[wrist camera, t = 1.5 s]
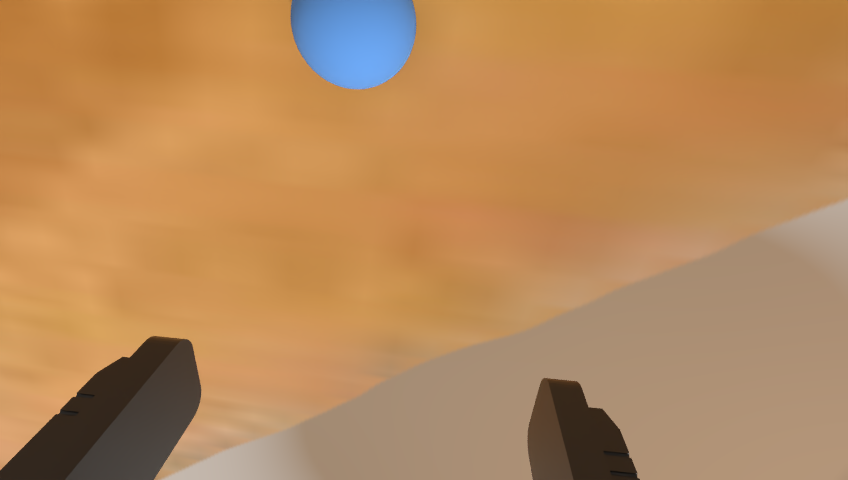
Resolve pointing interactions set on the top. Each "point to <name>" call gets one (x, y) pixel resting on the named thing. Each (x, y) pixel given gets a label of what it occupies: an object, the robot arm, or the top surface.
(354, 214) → the top surface
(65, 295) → the top surface
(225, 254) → the top surface
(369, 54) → the ball
